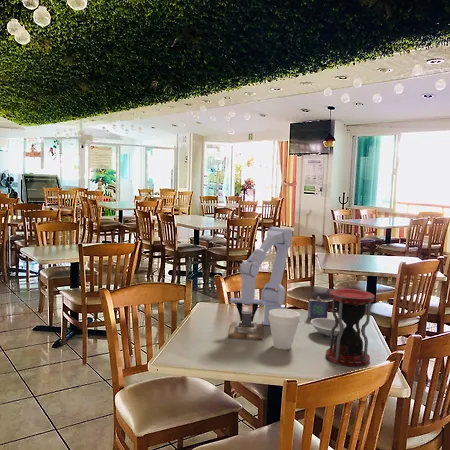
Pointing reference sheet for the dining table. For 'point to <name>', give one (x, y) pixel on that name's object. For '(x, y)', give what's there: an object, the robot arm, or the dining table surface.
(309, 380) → the dining table surface
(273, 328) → the cup
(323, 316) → the flask
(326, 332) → the dish
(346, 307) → the hourglass
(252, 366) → the dining table surface
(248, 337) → the dock
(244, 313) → the grey matte cube
